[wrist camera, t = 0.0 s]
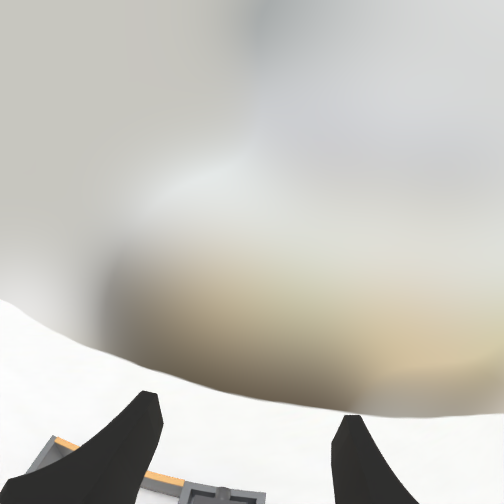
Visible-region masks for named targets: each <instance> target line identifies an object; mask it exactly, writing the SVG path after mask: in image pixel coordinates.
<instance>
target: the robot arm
mask: <svg viewBox="0 0 504 504" xmlns="http://www.w3.org/2000/svg"><path fill="white" fill-rule="evenodd" d="M163 424H164V423H163V418H162V414H161V409H160V405H159V400H158V395H157V394H156V393H152V392H147V391H141V392H140V393H139V394H138V395H137V396H136V397H135V398H134V399H133V401H132V402H131V403H130V404H129V405H128V406H127V407H126V408H125V409H124V410H123V411H122V412H121V413H120V414H119V415H118V416H117V417H116V418H114V419H113V420H112V421H111V422H110V423H109V424H108V425H107V426H106V427H105V428H104V429H102V430H101V431H100V432H99V433H97V434H96V435H95V436H94V437H93V438H91V439H90V440H89V441H87V442H86V443H85V444H83V445H82V446H81V447H79V448H78V449H76V450H75V451H73V452H71V453H70V454H68V455H66V456H65V457H63V458H61V459H59V460H58V461H56V462H54V463H52V464H50V465H47V466H45V467H43V468H40V469H38V470H36V471H33V472H31V473H28V474H24V475H21V476H18V477H15V478H11V479H8V481H7V482H6V484H5V485H4V487H3V489H2V490H1V492H0V504H135V501H136V497H137V494H138V491H139V488H140V485H141V483H142V481H143V478H144V476H145V474H146V471H147V469H148V467H149V464H150V462H151V460H152V457H153V455H154V453H155V450H156V448H157V445H158V442H159V439H160V435H161V432H162V428H163ZM331 467H332V476H333V485H334V494H335V504H419V503H418V502H417V501H416V500H415V499H414V498H413V496H412V495H411V494H410V493H409V492H408V491H407V490H406V488H405V487H404V486H403V485H402V483H401V482H400V481H399V479H398V478H397V477H396V475H395V474H394V472H393V471H392V470H391V468H390V467H389V465H388V464H387V462H386V460H385V459H384V457H383V456H382V454H381V452H380V451H379V449H378V447H377V446H376V444H375V442H374V440H373V438H372V437H371V435H370V433H369V431H368V429H367V427H366V425H365V423H364V421H363V419H362V417H361V416H360V415H344V418H343V420H342V422H341V424H340V426H339V428H338V431H337V433H336V435H335V437H334V439H333V441H332V443H331Z"/></svg>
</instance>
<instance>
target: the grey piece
mask: <svg viewBox="0 0 504 504" xmlns="http://www.w3.org/2000/svg"><path fill="white" fill-rule="evenodd" d="M78 448H79V446H77V445H75V444H72V443H70V442H68V441H66V440H63V439H61V438H59V437H55V436H53V435H52V437H51V438H50V440H49V441H48V442H47V444H46V445H45V447H44V448H43V449H42V451H41V452H40V454H39V455H38V456H37V458H36V459H35V461H34V462H33V463H32V465H31V466H30V468H29V469H28V471H27V472H26V474H28V473H31V472H33V471H36V470H38V469H40V468H43V467H45V466H47V465H50V464H52V463H54V462H56V461H58V460H59V459H61V458H63V457H65V456H66V455H68V454H70V453H71V452H73V451H75V450H76V449H78ZM140 487H142V488H145V489H149V490H152V491H156V492H159V493H163V494H167V495H171V496H175V497H180V499H179V502H178V504H265V498H266V493H263V492H252V491H243V490H235V489H229V488H226V487H214V486H208V485H203V484H198V483H193V482H188V481H185V480H182V479H178V478H174V477H170V476H166V475H162V474H158V473H154V472H150V471H146V474H145V476H144V478H143V481H142V483H141V485H140Z"/></svg>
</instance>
